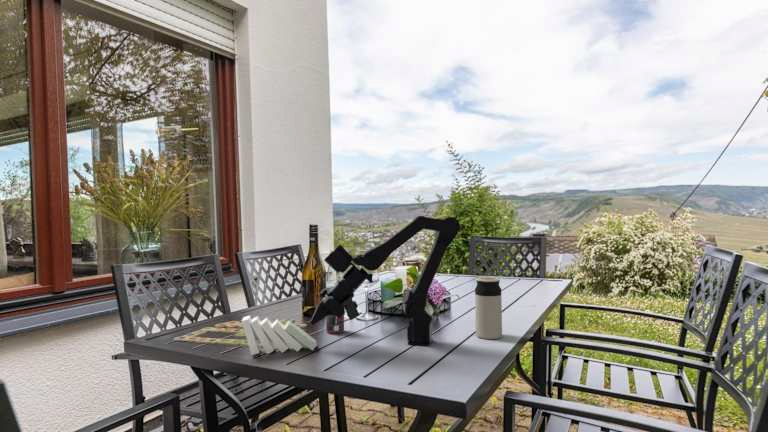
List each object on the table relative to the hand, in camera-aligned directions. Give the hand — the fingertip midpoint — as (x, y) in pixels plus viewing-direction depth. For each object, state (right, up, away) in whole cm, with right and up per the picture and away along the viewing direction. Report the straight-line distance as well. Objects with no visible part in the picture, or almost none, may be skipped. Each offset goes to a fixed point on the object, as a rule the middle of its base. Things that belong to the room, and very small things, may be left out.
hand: (311, 323), depth 129 cm
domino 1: (-15, -7, -3) cm, 17 cm away
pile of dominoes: (-25, -8, +18) cm, 32 cm away
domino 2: (-11, -7, -2) cm, 13 cm away
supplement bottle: (+5, -7, +18) cm, 20 cm away
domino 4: (-3, -6, -1) cm, 7 cm away
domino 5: (+1, -6, 0) cm, 6 cm away
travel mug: (+54, -6, +9) cm, 55 cm away
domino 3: (-7, -7, -2) cm, 10 cm away
